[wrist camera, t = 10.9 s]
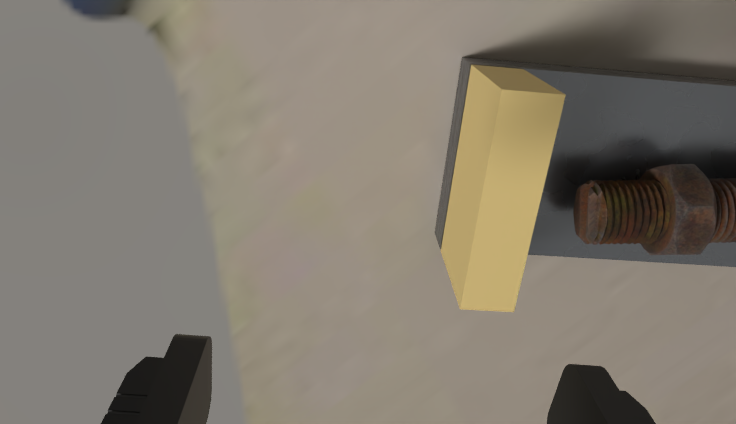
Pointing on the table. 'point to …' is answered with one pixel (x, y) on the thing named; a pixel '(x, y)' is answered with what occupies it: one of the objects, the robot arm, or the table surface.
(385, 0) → the table surface
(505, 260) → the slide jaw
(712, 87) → the plate
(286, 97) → the table surface
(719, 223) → the bolt
